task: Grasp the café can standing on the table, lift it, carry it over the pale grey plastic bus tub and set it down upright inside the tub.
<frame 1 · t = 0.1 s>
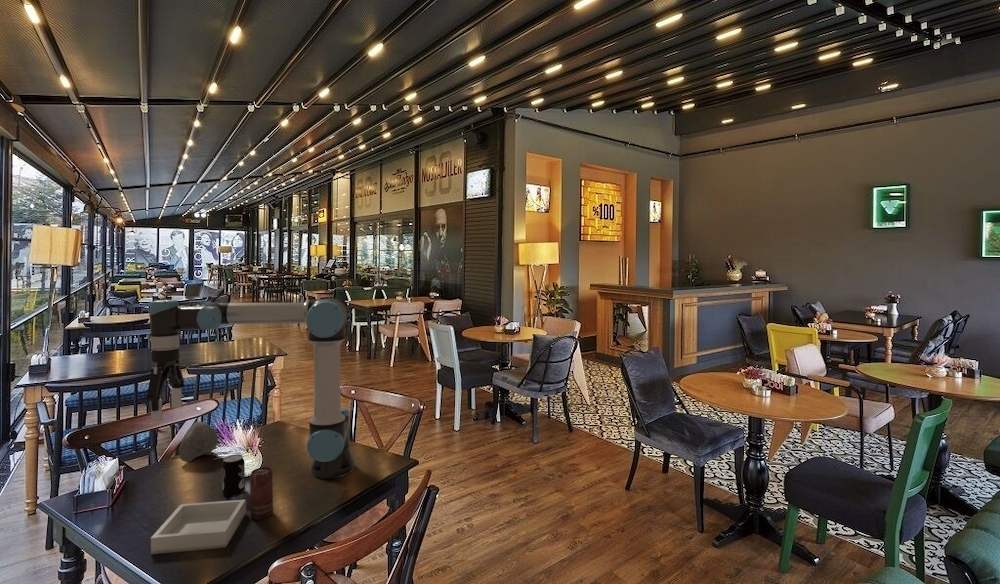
hand: (167, 413, 157), 28 cm above the table, fingers open, 13 cm apart
can: (261, 516, 149), on the table
bus tub: (202, 532, 140), on the table
decorative stone: (199, 459, 190), on the table
beverage can: (233, 493, 163), on the table
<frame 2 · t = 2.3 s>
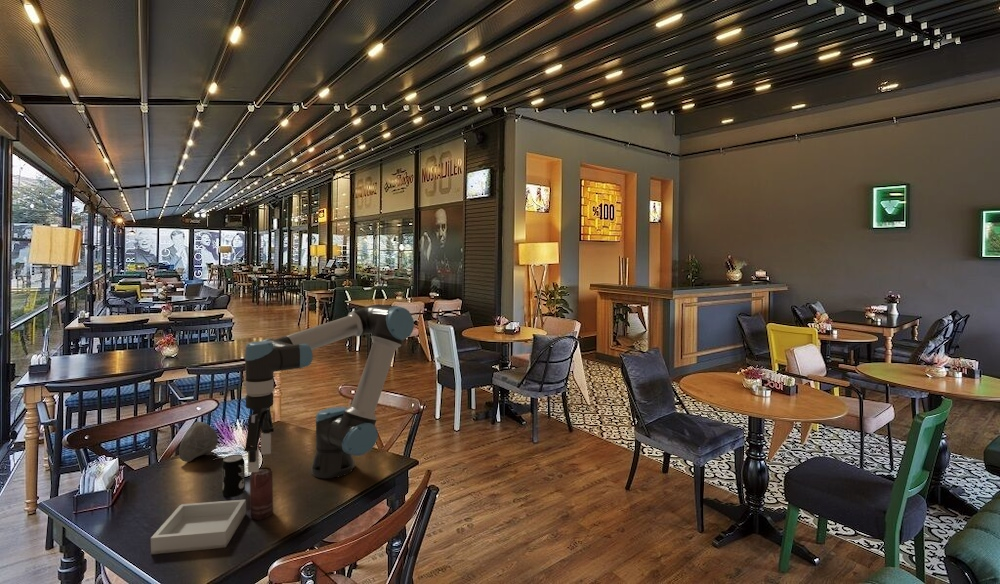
hand: (260, 462, 148), 17 cm above the table, fingers open, 13 cm apart
nothing on the table moved.
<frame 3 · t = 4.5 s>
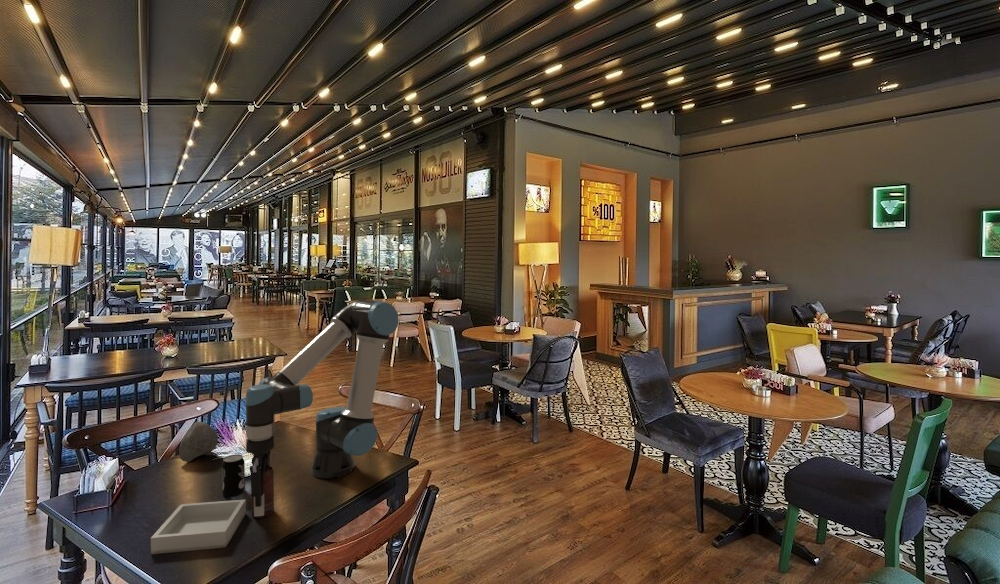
hand: (261, 512, 149), 1 cm above the table, fingers open, 3 cm apart
can: (262, 514, 150), on the table, touching gripper, hand
everything else where it was.
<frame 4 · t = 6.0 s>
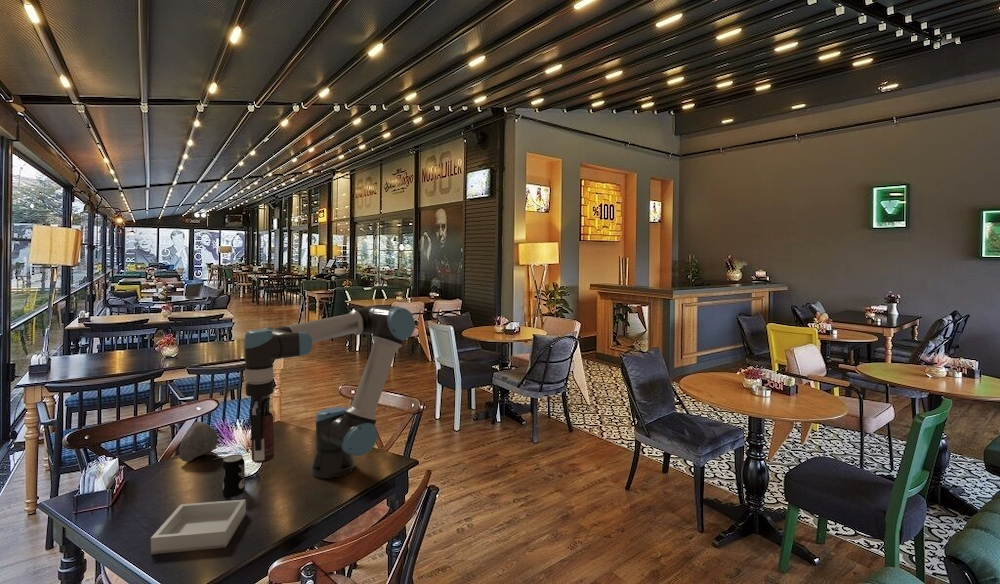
hand: (261, 457, 148), 18 cm above the table
can: (262, 460, 149), point 17 cm above the table, touching gripper, hand
everything else where it was.
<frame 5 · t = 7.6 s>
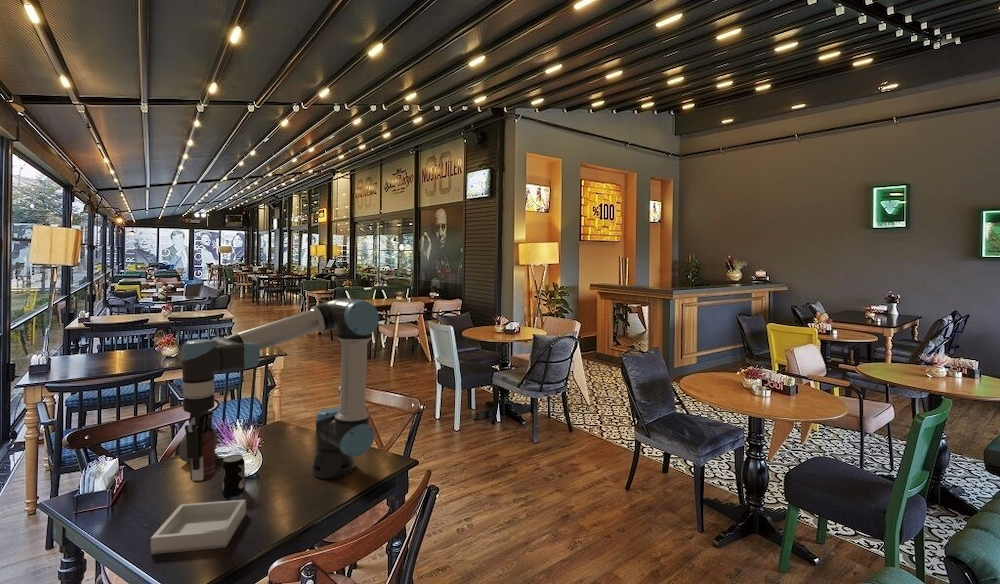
hand: (200, 476, 138), 16 cm above the table
can: (202, 479, 140), point 15 cm above the table, touching gripper, hand
everything else where it was.
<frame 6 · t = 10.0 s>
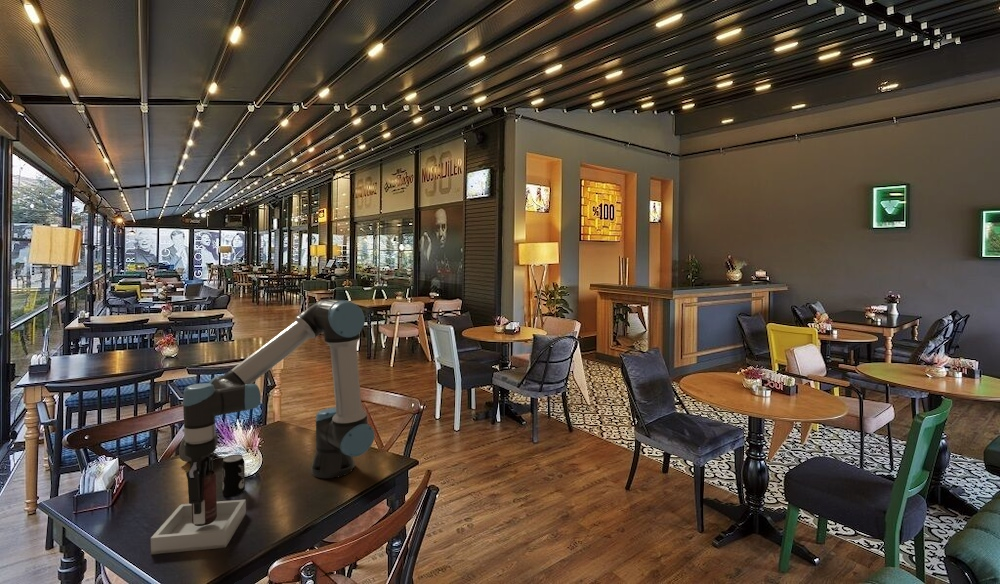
hand: (202, 519, 139), 4 cm above the table
can: (204, 521, 141), point 2 cm above the table, touching gripper, hand
everything else where it was.
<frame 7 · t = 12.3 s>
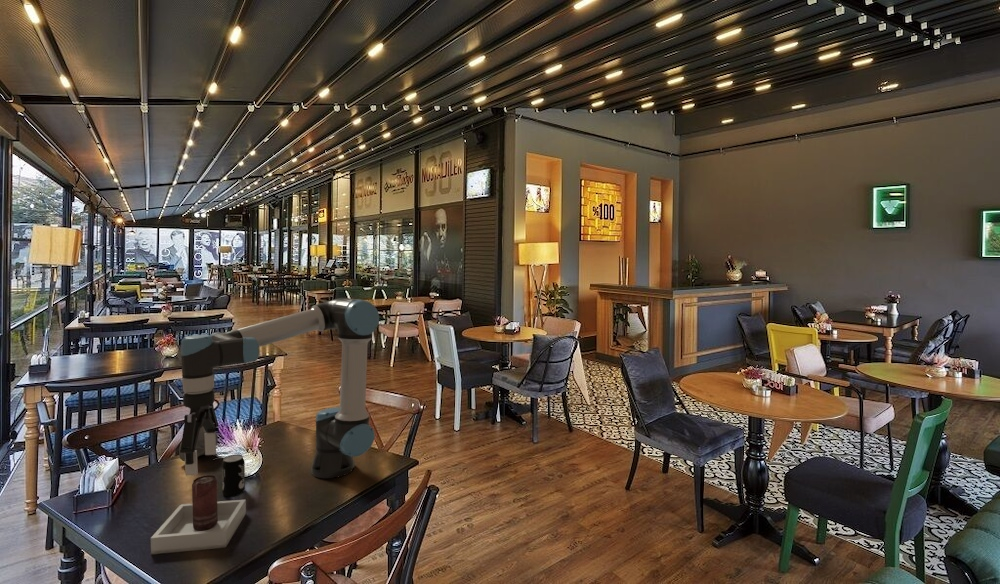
hand: (201, 464, 138), 20 cm above the table, fingers open, 13 cm apart
can: (205, 526, 141), point 1 cm above the table, touching bus tub
everything else where it was.
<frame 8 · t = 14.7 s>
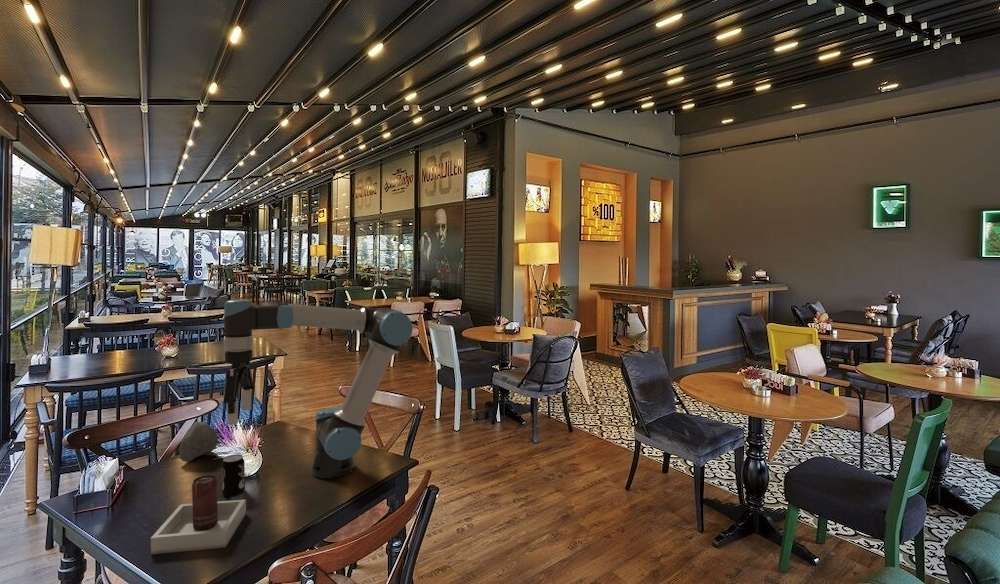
hand: (239, 416, 154), 29 cm above the table, fingers open, 13 cm apart
nothing on the table moved.
at the end: can inside the target area on the bus tub (1.9 cm from its centre), point 0.6 cm above the bus tub's base; can tilted 0°; can touching bus tub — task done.
